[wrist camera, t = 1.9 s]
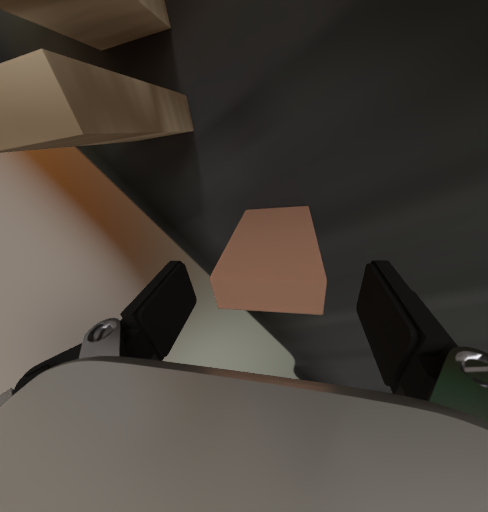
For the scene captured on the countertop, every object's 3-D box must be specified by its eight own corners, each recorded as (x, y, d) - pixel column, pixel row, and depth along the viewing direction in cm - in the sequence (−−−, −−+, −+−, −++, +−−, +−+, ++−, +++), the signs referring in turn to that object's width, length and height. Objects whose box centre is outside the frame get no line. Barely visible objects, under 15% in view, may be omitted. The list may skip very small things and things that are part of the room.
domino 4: (123, 109, 14) (-67, 86, 6) (186, 95, 13) (41, 48, 5) (135, 141, 15) (-17, 153, 8) (194, 131, 14) (83, 134, 6)
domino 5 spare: (245, 209, 16) (209, 277, 9) (308, 205, 15) (326, 280, 8) (248, 231, 17) (218, 308, 10) (307, 229, 16) (322, 314, 9)
